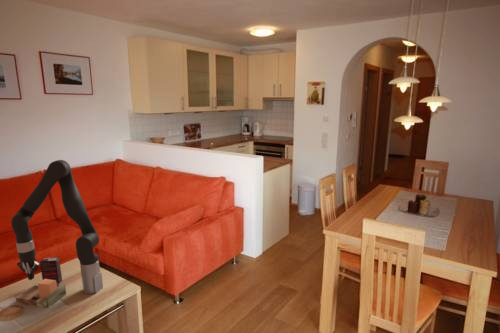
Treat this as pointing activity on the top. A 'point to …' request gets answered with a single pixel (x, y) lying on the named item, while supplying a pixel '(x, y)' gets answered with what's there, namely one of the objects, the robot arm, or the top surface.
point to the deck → (34, 299)
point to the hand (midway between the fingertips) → (31, 278)
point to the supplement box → (51, 269)
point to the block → (46, 287)
